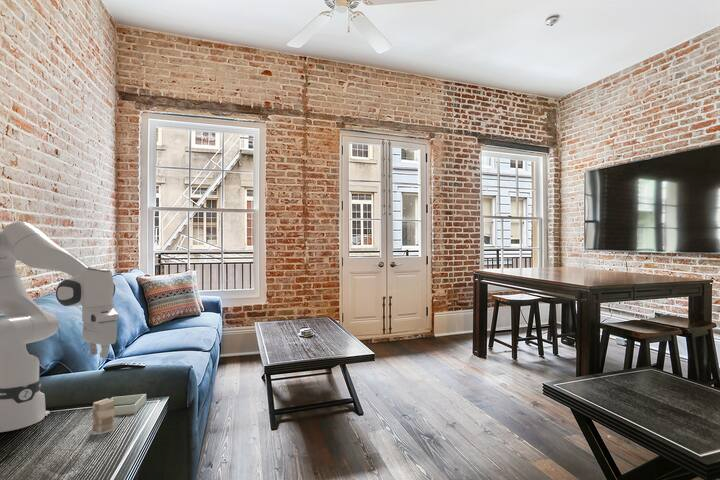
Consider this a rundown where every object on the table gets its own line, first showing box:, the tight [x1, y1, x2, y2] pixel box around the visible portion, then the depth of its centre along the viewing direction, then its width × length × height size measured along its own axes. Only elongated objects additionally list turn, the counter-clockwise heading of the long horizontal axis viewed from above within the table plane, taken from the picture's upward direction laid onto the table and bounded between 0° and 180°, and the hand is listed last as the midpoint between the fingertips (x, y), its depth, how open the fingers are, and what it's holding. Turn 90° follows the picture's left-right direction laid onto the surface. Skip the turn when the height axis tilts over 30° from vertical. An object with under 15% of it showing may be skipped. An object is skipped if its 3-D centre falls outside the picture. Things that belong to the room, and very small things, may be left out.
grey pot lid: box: [88, 423, 119, 436], centre depth 123 cm, size 8×8×4 cm
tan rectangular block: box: [92, 397, 115, 433], centre depth 123 cm, size 4×4×9 cm
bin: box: [110, 393, 147, 417], centre depth 140 cm, size 12×12×4 cm
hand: (98, 356), depth 123 cm, fingers open, 8 cm apart
